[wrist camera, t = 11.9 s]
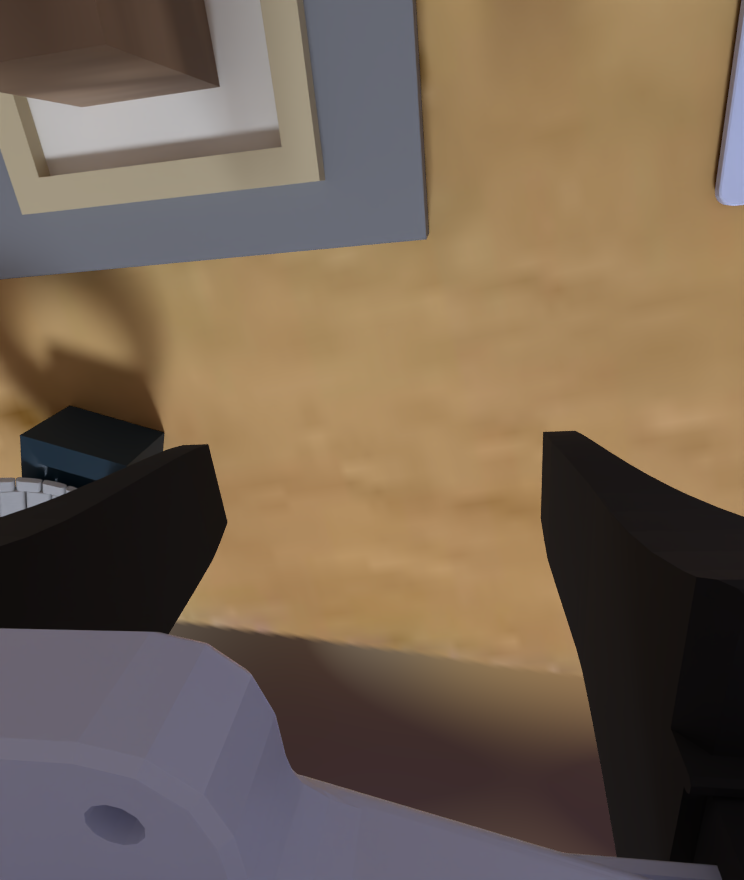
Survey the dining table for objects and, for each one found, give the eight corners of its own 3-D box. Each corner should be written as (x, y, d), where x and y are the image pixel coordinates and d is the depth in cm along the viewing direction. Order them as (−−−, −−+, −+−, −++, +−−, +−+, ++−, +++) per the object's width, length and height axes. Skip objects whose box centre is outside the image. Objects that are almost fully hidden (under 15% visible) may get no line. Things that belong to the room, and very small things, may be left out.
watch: (27, 393, 24) (-262, 539, 15) (203, 443, 24) (32, 625, 15) (30, 498, 27) (-214, 683, 17) (190, 544, 27) (37, 758, 17)
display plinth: (394, -372, 14) (381, -494, 11) (428, 233, 19) (425, 242, 17) (-151, -223, 16) (-260, -294, 14) (22, 272, 22) (-33, 284, 20)
